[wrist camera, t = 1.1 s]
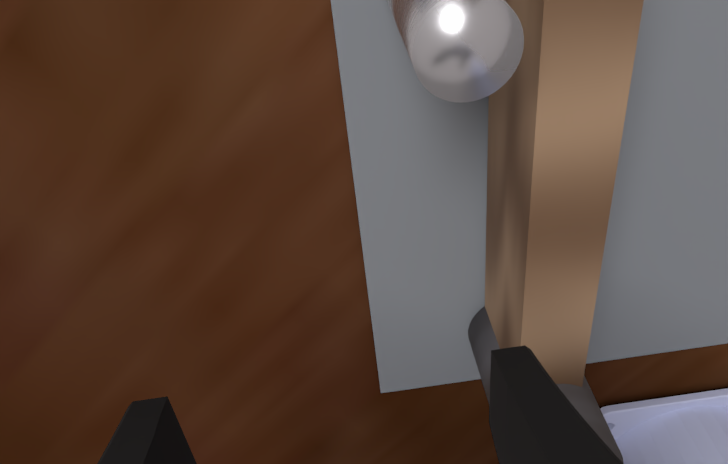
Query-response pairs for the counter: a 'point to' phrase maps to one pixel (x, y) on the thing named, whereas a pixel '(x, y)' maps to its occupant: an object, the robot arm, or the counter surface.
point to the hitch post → (460, 45)
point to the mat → (469, 197)
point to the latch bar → (555, 188)
